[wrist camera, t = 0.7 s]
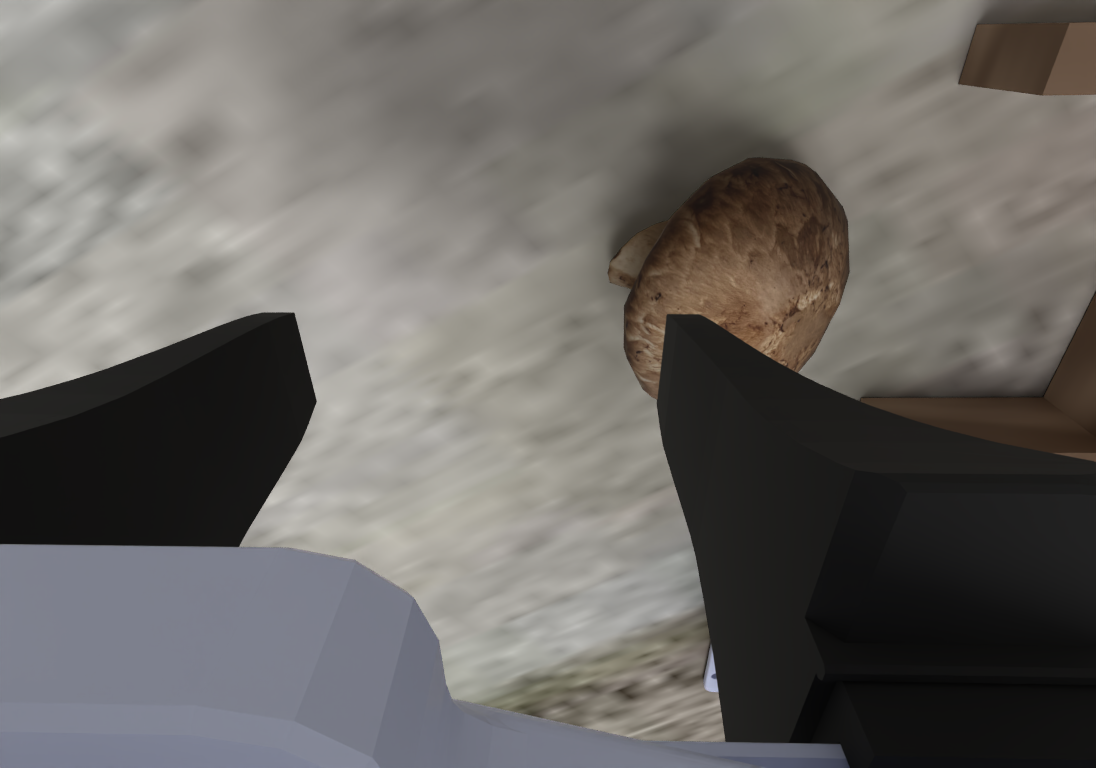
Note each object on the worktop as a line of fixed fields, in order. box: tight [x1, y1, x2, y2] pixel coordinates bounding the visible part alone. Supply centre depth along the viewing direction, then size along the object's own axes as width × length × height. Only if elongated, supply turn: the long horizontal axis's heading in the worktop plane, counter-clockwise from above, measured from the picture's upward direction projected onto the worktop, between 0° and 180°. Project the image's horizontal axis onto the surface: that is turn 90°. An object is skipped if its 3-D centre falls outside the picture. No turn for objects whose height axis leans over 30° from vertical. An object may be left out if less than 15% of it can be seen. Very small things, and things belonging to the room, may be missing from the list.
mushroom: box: [608, 157, 850, 399], centre depth 18 cm, size 8×8×6 cm
